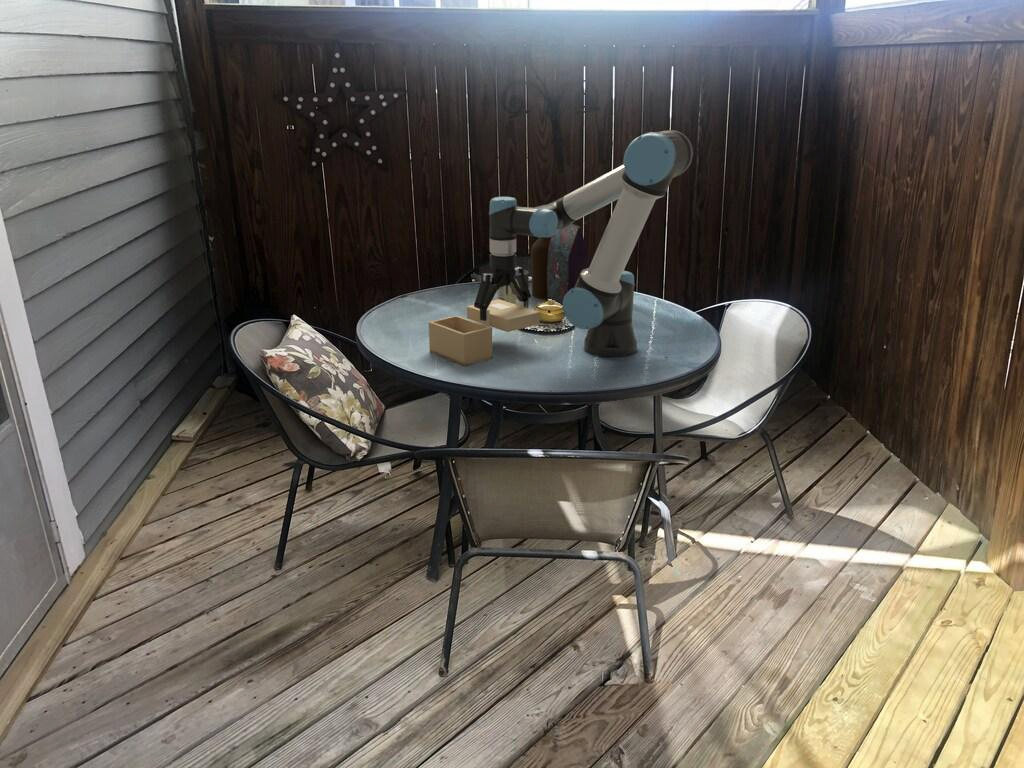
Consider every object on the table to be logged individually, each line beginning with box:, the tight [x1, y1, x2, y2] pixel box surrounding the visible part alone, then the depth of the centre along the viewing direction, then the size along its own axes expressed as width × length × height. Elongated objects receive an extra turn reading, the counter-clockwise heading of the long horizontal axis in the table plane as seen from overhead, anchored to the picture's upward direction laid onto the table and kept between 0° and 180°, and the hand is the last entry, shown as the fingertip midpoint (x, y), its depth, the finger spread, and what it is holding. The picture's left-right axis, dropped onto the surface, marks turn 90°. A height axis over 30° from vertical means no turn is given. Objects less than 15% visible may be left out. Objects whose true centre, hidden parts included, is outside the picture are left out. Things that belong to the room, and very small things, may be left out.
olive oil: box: [530, 236, 552, 299], centre depth 296 cm, size 11×11×25 cm
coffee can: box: [497, 269, 530, 309], centre depth 274 cm, size 10×10×14 cm
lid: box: [466, 298, 541, 333], centre depth 243 cm, size 18×12×4 cm
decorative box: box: [546, 223, 590, 305], centre depth 282 cm, size 8×16×28 cm, turn 24°
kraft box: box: [428, 315, 493, 367], centre depth 236 cm, size 16×10×9 cm, turn 41°
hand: (503, 326), depth 244 cm, fingers closed on lid, 12 cm apart
